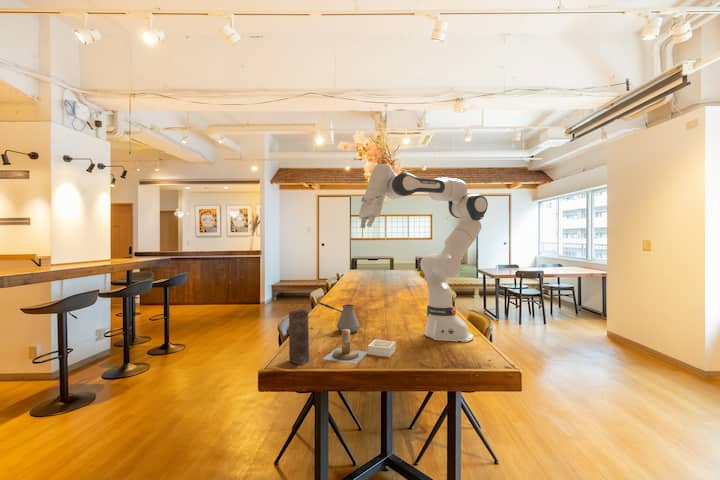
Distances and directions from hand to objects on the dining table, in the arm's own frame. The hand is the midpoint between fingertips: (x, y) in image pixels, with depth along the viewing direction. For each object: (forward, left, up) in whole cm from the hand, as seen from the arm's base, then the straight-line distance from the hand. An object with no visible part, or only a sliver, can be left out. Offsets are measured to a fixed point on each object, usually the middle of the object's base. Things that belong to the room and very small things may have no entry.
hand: (365, 227), depth 152 cm
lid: (+1, +19, -51) cm, 54 cm away
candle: (+15, +31, -52) cm, 62 cm away
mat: (+1, +19, -51) cm, 55 cm away
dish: (-11, +10, -51) cm, 54 cm away
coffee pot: (+19, -13, -52) cm, 57 cm away
